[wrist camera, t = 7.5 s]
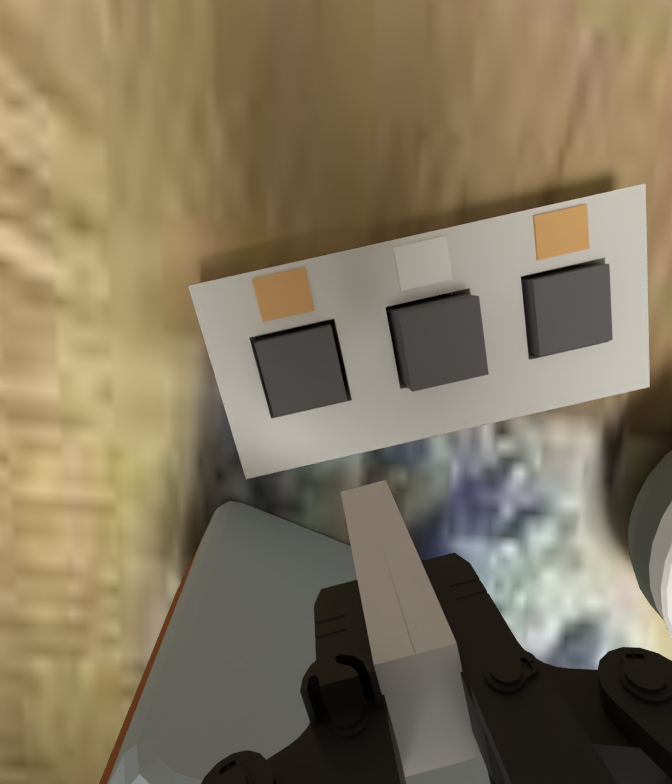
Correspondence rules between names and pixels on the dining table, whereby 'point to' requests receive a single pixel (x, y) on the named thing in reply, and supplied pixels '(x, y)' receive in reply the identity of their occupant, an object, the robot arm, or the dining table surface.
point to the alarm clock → (238, 654)
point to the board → (417, 281)
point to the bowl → (654, 539)
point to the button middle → (439, 341)
